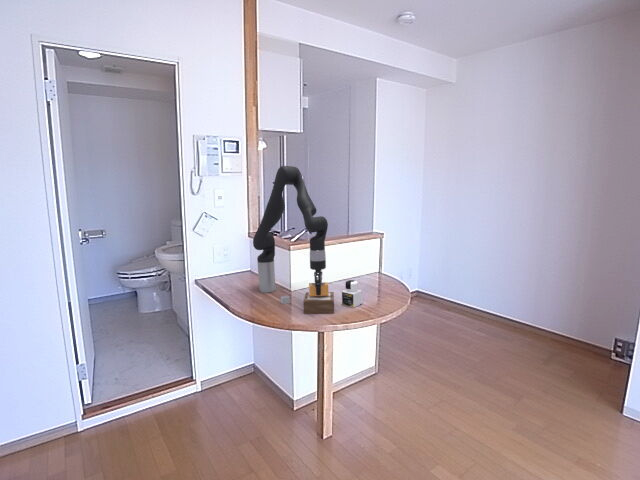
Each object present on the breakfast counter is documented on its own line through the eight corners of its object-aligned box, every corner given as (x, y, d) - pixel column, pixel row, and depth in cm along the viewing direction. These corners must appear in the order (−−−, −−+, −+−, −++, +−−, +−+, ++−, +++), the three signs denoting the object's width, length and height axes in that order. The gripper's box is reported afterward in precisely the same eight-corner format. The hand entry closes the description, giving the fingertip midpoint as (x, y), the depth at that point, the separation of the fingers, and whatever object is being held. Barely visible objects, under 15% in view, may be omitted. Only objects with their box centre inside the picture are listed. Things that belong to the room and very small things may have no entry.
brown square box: (306, 303, 189) (305, 291, 188) (333, 303, 189) (333, 291, 188) (303, 314, 175) (303, 301, 174) (333, 313, 175) (333, 300, 174)
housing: (327, 292, 183) (327, 281, 183) (328, 295, 179) (328, 284, 178) (309, 293, 183) (308, 282, 182) (309, 296, 178) (309, 285, 177)
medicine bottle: (341, 304, 186) (341, 281, 184) (350, 301, 191) (350, 278, 189) (353, 308, 181) (352, 284, 179) (362, 304, 186) (361, 280, 184)
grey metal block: (280, 302, 194) (280, 296, 194) (288, 301, 195) (288, 295, 195) (282, 304, 190) (281, 298, 190) (289, 303, 191) (289, 297, 191)
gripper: (325, 262, 171) (326, 297, 173) (326, 255, 185) (326, 288, 188) (308, 262, 171) (310, 298, 174) (310, 255, 185) (312, 288, 188)
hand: (318, 292), depth 181 cm, fingers closed on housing, 5 cm apart
